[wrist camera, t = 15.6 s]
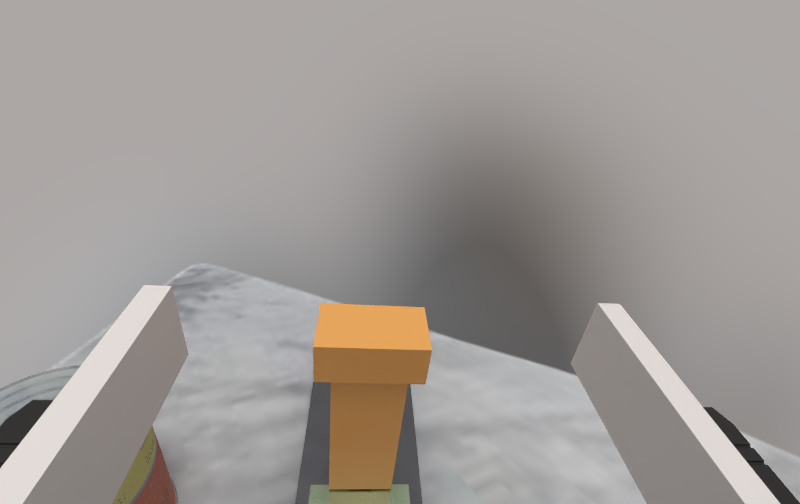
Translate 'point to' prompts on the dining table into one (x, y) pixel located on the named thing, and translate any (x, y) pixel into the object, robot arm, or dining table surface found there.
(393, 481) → the switch plate
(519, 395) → the dining table surface
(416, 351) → the handle
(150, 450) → the canned food
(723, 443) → the robot arm
